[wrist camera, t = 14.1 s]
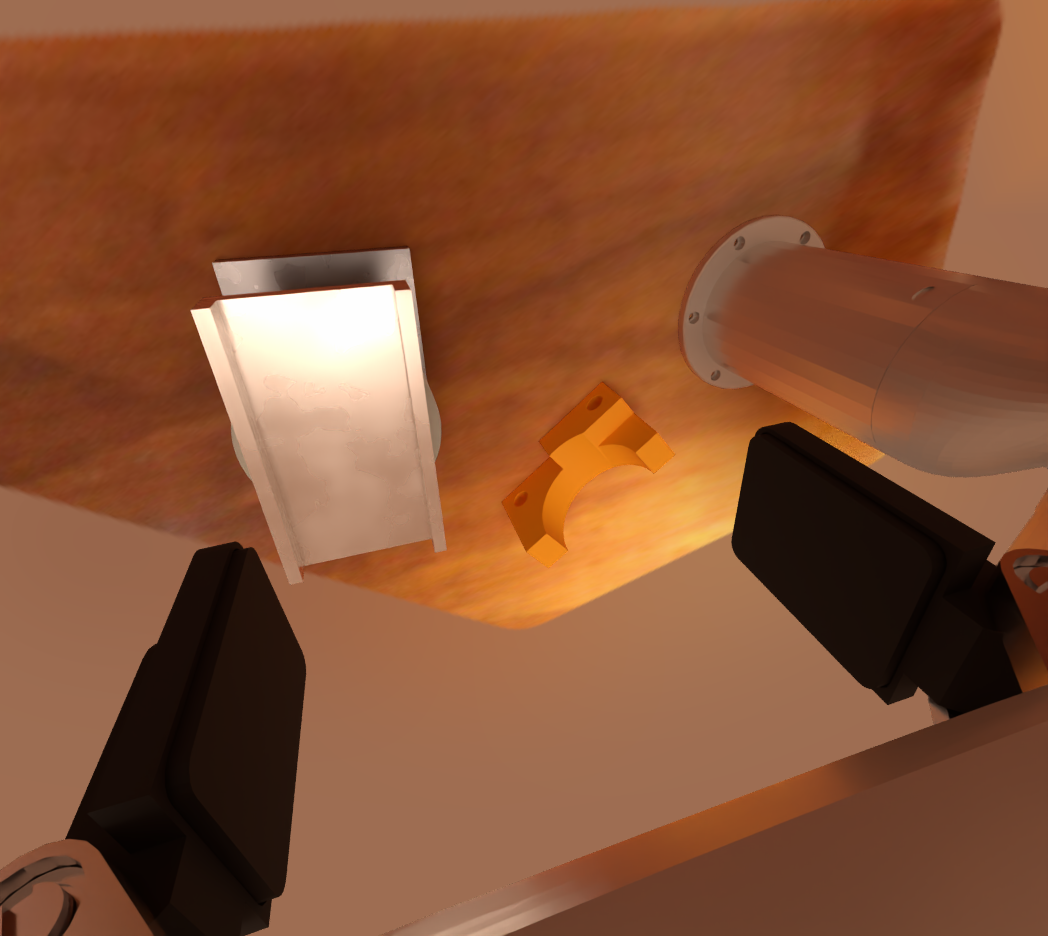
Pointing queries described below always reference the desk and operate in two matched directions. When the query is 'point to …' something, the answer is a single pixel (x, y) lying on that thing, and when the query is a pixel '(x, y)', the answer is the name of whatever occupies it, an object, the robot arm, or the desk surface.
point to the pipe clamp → (579, 467)
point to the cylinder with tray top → (328, 399)
